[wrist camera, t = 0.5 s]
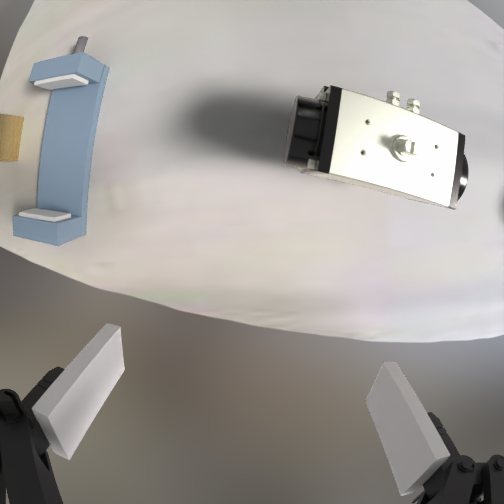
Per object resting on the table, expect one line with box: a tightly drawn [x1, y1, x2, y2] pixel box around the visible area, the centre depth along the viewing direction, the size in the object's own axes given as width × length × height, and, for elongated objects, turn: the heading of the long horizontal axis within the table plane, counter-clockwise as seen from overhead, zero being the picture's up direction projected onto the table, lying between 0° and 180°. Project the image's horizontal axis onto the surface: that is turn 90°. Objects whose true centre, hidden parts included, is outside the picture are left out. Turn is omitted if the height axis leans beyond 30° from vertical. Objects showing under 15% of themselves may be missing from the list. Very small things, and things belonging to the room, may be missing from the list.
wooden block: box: [0, 114, 24, 162], centre depth 31 cm, size 8×4×8 cm, turn 171°
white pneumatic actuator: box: [284, 85, 468, 210], centre depth 27 cm, size 18×8×18 cm, turn 81°
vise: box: [13, 65, 109, 246], centre depth 32 cm, size 26×10×8 cm, turn 171°
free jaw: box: [29, 36, 104, 90], centre depth 28 cm, size 9×10×6 cm
